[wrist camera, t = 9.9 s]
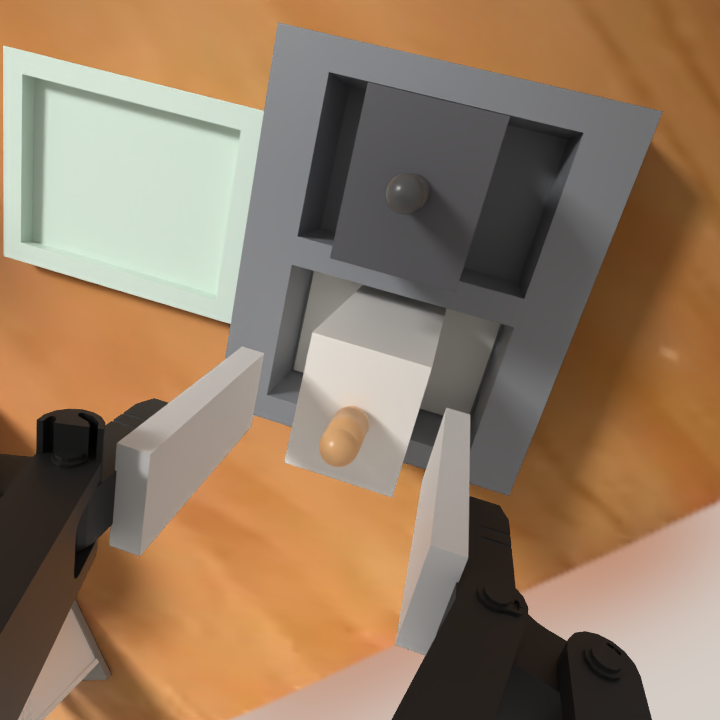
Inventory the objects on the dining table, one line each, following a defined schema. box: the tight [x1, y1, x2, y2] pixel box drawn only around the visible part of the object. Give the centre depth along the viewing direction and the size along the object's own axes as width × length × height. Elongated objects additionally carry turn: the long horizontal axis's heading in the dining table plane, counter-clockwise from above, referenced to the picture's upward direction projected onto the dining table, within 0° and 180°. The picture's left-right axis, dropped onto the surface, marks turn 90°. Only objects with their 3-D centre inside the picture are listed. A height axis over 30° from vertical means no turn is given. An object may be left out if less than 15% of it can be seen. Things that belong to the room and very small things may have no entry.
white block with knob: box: [285, 285, 446, 497], centre depth 21 cm, size 5×4×12 cm
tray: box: [3, 46, 264, 324], centre depth 27 cm, size 10×13×1 cm
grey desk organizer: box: [225, 23, 663, 496], centre depth 20 cm, size 16×14×12 cm
